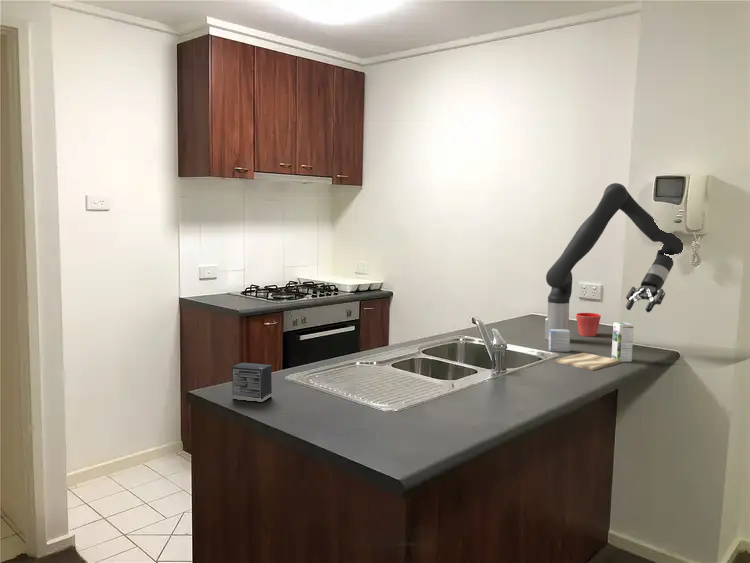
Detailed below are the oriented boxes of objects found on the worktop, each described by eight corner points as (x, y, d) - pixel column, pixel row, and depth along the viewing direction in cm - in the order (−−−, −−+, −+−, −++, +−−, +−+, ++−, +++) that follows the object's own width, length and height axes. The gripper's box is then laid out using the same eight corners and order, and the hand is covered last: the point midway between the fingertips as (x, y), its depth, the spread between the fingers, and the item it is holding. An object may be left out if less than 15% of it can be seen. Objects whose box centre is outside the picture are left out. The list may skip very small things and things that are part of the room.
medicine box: (567, 349, 257) (568, 329, 256) (569, 352, 253) (570, 331, 252) (548, 349, 258) (548, 328, 257) (550, 351, 254) (550, 331, 253)
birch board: (554, 362, 236) (555, 359, 236) (583, 355, 247) (583, 352, 247) (592, 370, 223) (592, 367, 223) (620, 362, 235) (620, 360, 235)
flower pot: (589, 338, 281) (589, 317, 280) (570, 334, 291) (571, 313, 290) (604, 335, 287) (605, 315, 286) (586, 332, 296) (586, 312, 295)
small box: (273, 397, 190) (272, 364, 189) (262, 403, 184) (261, 369, 183) (243, 394, 193) (242, 361, 192) (231, 400, 187) (230, 366, 186)
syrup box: (610, 358, 241) (612, 322, 240) (625, 358, 242) (627, 321, 240) (617, 362, 236) (619, 324, 234) (632, 361, 236) (634, 324, 235)
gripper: (635, 271, 252) (617, 302, 247) (667, 273, 240) (649, 305, 235) (643, 283, 255) (625, 313, 251) (675, 285, 243) (658, 317, 239)
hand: (637, 310), depth 243 cm, fingers open, 8 cm apart
